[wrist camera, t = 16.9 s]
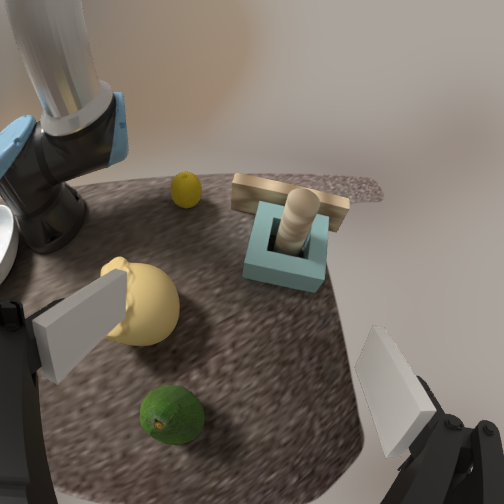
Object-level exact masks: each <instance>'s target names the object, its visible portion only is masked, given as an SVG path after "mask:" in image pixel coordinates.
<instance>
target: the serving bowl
mask: <svg viewBox="0 0 504 504" xmlns="http://www.w3.org/2000/svg"><path fill="white" fill-rule="evenodd" d="M18 241H19V233H18V226H17V223H16V220H15V217H14V215H13V213H12V211H11V210H10V209H9V208H8V207H7V206H5V205H0V284H1V283H2V282H3V281H4V279H5V278H6V277H7V275H8V273H9V271H10V270H11V268H12V265H13V263H14V260H15V257H16V254H17V249H18Z"/></svg>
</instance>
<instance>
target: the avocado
mask: <svg viewBox="0 0 504 504" xmlns="http://www.w3.org/2000/svg"><path fill="white" fill-rule="evenodd" d="M140 422H141V425H142V428H143V429H144V430H145V431H146V432H147V433H148V434H149V435H150V436H152V437H153V438H154V439H156V440H158V441H161V442H163V443H165V444H171V445H179V444H183V443H187V442H189V441H192V440H193V439H194V438H196V437H197V436H198V435H199V434H200V432H201V430H202V428H203V426H204V422H205V412H204V409H203V407H202V405H201V403H200V401H199V399H198V398H197V397H196V396H195V395H194V394H193V393H192V392H191V391H189V390H187V389H186V388H184V387H182V386H176V385H164V386H160V387H158V388H156V389H153V390H152V391H151V392H150V393H149V394H148V395H147V396H146V397H145V399H144V400H143V402H142V404H141V411H140Z"/></svg>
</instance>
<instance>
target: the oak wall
mask: <svg viewBox="0 0 504 504" xmlns="http://www.w3.org/2000/svg"><path fill="white" fill-rule="evenodd" d="M297 188H304V187H300V186H296V185H291V184H287V183H282V182H278V181H273V180H269V179H264V178H259V177H254V176H249V175H244V174H239V173H235V176H234V179H233V182H232V198H231V209H234V210H239V211H244V212H248V213H253V214H256V213H257V209H258V205H259V201H263V202H267V203H272V204H277V205H281V206H285V204H286V200H287V197H288V194H289V193H290V192H291V191H292V190H294V189H297ZM304 189H308V190H310V191H312V192H313V193H315V194H316V195H317V196H318V198H319V200H320V207H319V210H318V212H317V214H320V215H324V216H328V217H329V226H328V231H333V232H337V231H338V229H339V227H340V225H341V224H342V222H343V220H344V218H345V216H346V214H347V213H348V211H349V199H348V198H344V197H340V196H337V195H333V194H329V193H325V192H321V191H317V190H313V189H309V188H304Z"/></svg>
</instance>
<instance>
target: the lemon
mask: <svg viewBox="0 0 504 504" xmlns="http://www.w3.org/2000/svg"><path fill="white" fill-rule="evenodd" d="M170 190H171V196H172V199H173V201H174V202H175V203H176V204H177V205H178V206H180V207H182V208H190V207H193V206H195V205H196V204H197V203H198V202H199V200H200V198H201V194H202V187H201V183H200V181H199V179H198V178H197V176H196V175H194V174H193V173H190V172H182V173H179V174H178V175H176V176H175V177H174V179H173V180H172V183H171V189H170Z"/></svg>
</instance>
